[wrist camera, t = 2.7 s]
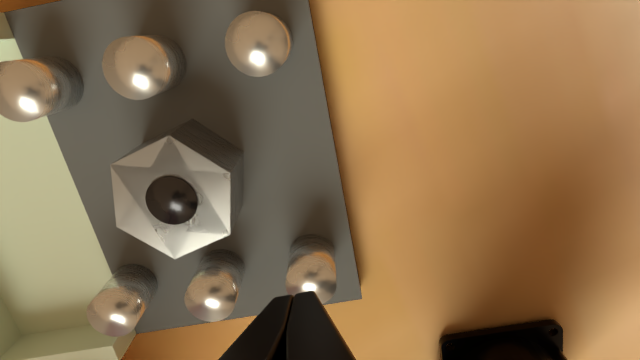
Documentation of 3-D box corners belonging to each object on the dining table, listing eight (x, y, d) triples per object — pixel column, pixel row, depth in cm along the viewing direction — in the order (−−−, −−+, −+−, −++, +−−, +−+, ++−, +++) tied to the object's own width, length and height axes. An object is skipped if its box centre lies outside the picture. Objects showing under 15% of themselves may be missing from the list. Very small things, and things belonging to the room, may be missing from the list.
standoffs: (286, 7, 17) (280, 4, 14) (338, 269, 21) (340, 302, 18) (21, 61, 17) (-28, 67, 15) (122, 304, 22) (97, 340, 19)
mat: (300, -46, 17) (298, -50, 16) (360, 287, 22) (362, 298, 21) (20, 13, 18) (3, 12, 17) (143, 321, 23) (136, 333, 22)
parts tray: (20, 13, 18) (-37, 10, 15) (143, 321, 23) (119, 362, 20) (-132, 45, 18) (-215, 48, 15) (24, 339, 24) (-16, 382, 21)
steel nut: (218, 105, 18) (198, 120, 15) (267, 193, 19) (258, 223, 17) (117, 155, 19) (81, 179, 16) (172, 236, 20) (147, 271, 17)
